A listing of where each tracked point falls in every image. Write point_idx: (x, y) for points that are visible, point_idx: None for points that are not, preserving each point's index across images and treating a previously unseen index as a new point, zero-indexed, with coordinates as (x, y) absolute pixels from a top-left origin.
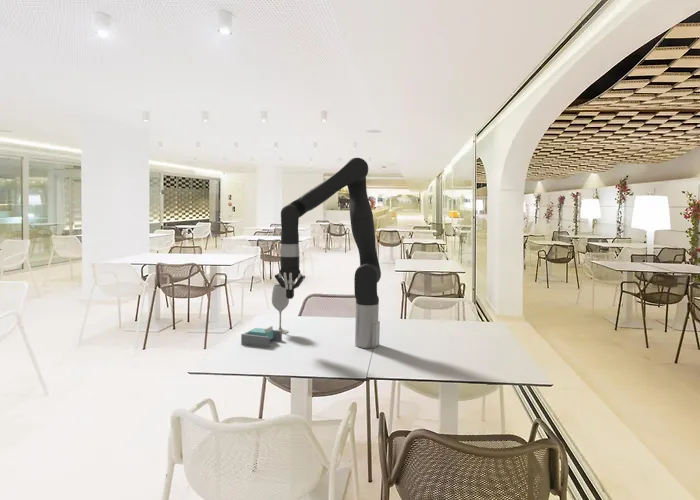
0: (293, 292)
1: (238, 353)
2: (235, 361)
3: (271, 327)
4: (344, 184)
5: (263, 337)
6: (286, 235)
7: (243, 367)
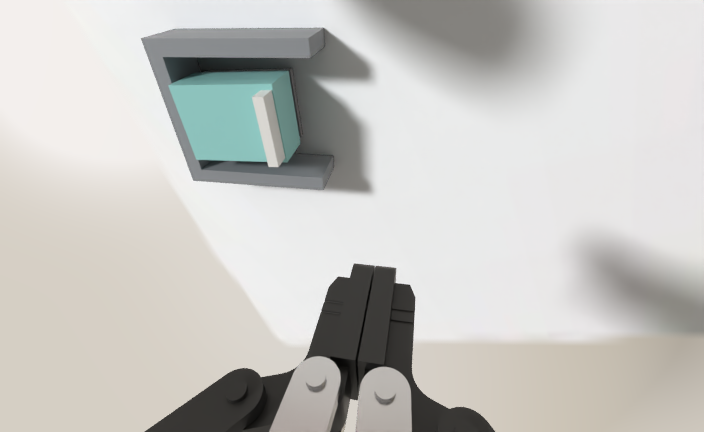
0: (411, 344)
1: (285, 246)
2: None
3: (267, 109)
4: None
5: (299, 187)
6: None
7: None
